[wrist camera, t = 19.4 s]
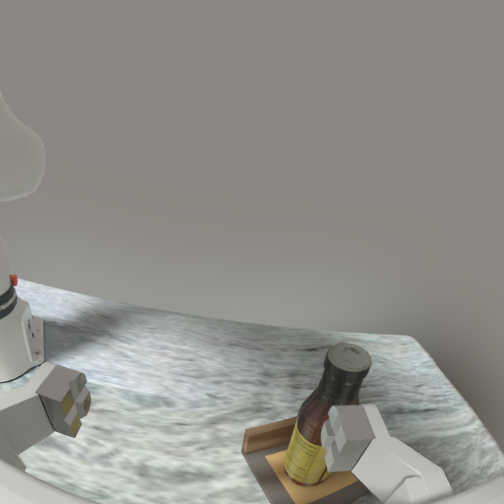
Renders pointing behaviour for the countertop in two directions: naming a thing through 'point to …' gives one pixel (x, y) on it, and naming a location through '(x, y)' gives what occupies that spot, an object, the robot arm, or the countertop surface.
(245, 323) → the countertop surface
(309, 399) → the sauce bottle
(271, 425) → the corner arena
